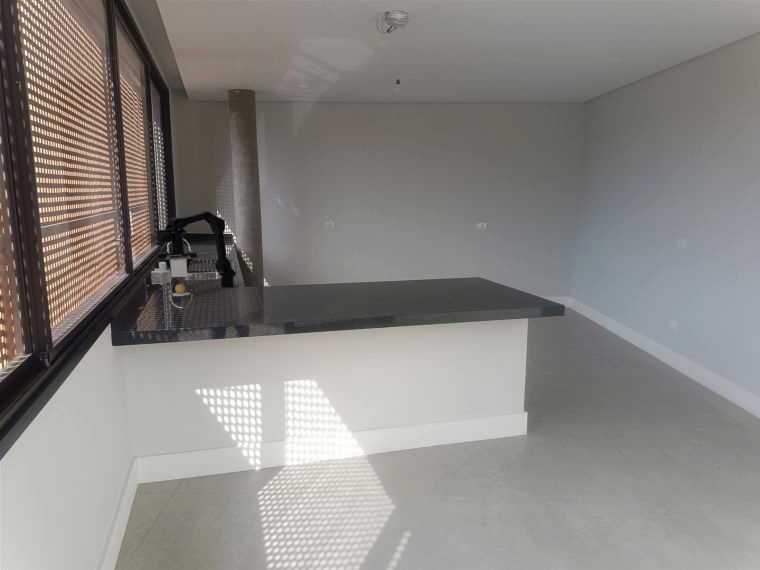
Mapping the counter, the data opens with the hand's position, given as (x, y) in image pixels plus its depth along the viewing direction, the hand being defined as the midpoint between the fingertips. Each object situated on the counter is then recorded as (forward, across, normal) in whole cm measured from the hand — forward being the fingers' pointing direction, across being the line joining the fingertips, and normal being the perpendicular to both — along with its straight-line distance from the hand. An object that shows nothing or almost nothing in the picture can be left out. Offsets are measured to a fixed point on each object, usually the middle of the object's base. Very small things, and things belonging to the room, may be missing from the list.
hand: (179, 271), depth 279 cm
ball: (+10, 0, -3) cm, 10 cm away
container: (+13, +12, -37) cm, 41 cm away
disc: (+12, 0, 0) cm, 12 cm away
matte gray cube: (+2, 0, 0) cm, 2 cm away
